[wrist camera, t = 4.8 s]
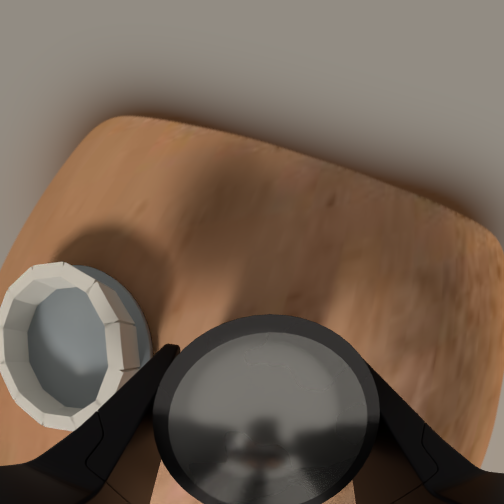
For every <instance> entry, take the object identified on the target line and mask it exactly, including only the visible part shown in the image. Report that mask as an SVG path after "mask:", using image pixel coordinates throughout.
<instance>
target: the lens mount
mask: <svg viewBox="0 0 504 504" xmlns="http://www.w3.org/2000/svg"><path fill="white" fill-rule="evenodd" d="M8 289H9V291H8V290H7V292H6V294H5V297H4V300H3V302H2V305H1V308H0V372H1V374H2V377H3V379H4V381H5V383H6V386H7V388H8V390H9V392H10V394H11V396H12V398H13V400H15V403H17V404H18V405H19V406H20V407H21V408H22V409H23V410H24V411H25V412H27V413H28V414H29V415H30V416H31V417H32V418H33V419H35V420H36V421H37V422H38V423H39V424H41V425H44V427H49V428H55V429H61V430H68V431H75V430H76V429H77V428H78V427H79V426H81V425H82V424H83V423H84V422H85V421H86V420H87V419H88V418H89V417H91V416H92V415H93V414H94V413H95V412H96V411H98V409H99V408H100V407H101V406H102V405H103V404H104V403H105V402H106V401H107V400H108V399H109V398H110V397H112V396H113V395H114V394H115V393H116V392H117V391H118V390H119V389H120V388H121V387H122V386H123V385H124V384H125V383H126V382H127V381H128V380H129V379H130V378H131V377H132V376H133V375H134V374H135V373H136V372H137V371H139V370H140V369H141V368H142V367H143V366H144V365H145V364H146V363H147V362H148V361H149V360H150V359H151V358H152V357H153V346H152V340H151V334H150V331H149V327H148V324H147V321H146V319H145V316H144V314H143V312H142V310H141V308H140V306H139V305H138V303H137V301H136V300H135V299H134V297H133V296H132V295H131V293H130V292H129V291H128V290H127V289H126V288H125V287H124V286H123V285H122V284H120V283H119V282H118V281H117V280H115V279H114V278H112V277H110V276H109V275H107V274H106V273H104V272H102V271H100V270H97V269H95V268H92V267H88V266H81V265H69V264H68V263H66V262H56V263H48V264H41V265H34V266H33V267H30V268H29V269H28V270H27V271H26V272H25V273H24V274H23V275H22V276H20V277H19V278H18V279H17V280H16V281H15V282H14V283H13V284H12V285H11V286H10V287H9V288H8Z"/></svg>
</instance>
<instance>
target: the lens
mask: <svg viewBox="0 0 504 504" xmlns="http://www.w3.org/2000/svg"><path fill="white" fill-rule="evenodd" d="M379 418H380V408H379V398H378V392H377V388H376V385H375V382H374V379H373V376H372V374H371V372H370V370H369V368H368V366H367V365H366V363H365V362H364V360H363V359H362V357H361V356H360V354H359V353H358V352H357V351H356V350H355V349H354V348H353V347H352V346H351V345H350V344H349V343H348V342H347V341H346V340H344V339H343V338H342V337H341V336H339V335H338V334H336V333H335V332H333V331H332V330H330V329H328V328H326V327H324V326H322V325H320V324H318V323H315V322H312V321H309V320H306V319H303V318H299V317H293V316H287V315H273V314H268V315H254V316H249V317H244V318H239V319H236V320H233V321H230V322H226V323H223V324H221V325H219V326H217V327H215V328H213V329H211V330H209V331H207V332H206V333H204V334H202V335H201V336H199V337H198V338H196V339H195V340H194V341H193V342H191V343H190V344H189V345H188V346H187V347H185V348H184V349H183V350H182V351H181V353H180V354H179V355H178V356H177V357H176V358H175V359H174V361H173V362H172V363H171V365H170V366H169V368H168V369H167V371H166V372H165V374H164V376H163V378H162V380H161V382H160V384H159V387H158V390H157V393H156V396H155V401H154V407H153V432H154V439H155V443H156V446H157V450H158V452H159V455H160V457H161V459H162V461H163V463H164V465H165V467H166V468H167V470H168V471H169V473H170V474H171V476H172V477H173V478H174V479H175V480H176V482H177V483H178V484H179V485H180V486H181V487H182V488H183V489H184V490H186V491H187V492H188V493H189V494H190V495H191V496H193V497H194V498H196V499H197V500H199V501H200V502H202V503H204V504H322V503H324V502H325V501H327V500H328V499H330V498H331V497H333V496H335V495H336V494H337V493H338V492H340V491H341V490H342V489H343V488H344V487H346V486H347V485H348V484H349V483H350V482H351V480H352V479H353V478H354V477H355V476H356V475H357V474H358V472H359V471H360V470H361V468H362V467H363V465H364V464H365V462H366V460H367V458H368V457H369V455H370V453H371V450H372V448H373V445H374V443H375V440H376V436H377V432H378V426H379Z"/></svg>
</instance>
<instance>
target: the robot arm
mask: <svg viewBox="0 0 504 504" xmlns="http://www.w3.org/2000/svg"><path fill="white" fill-rule="evenodd" d="M179 354H180V347H179V346H178V345H174V344H166V345H164V346H163V347H162V348H161V349H160V350H159V351H158V352H157V353H156V354H155V355H154V356H153V357H152V358H151V359H150V360H149V361H148V362H147V363H146V364H145V365H144V366H143V367H142V368H141V369H140V370H139V371H137V372H136V373H135V374H134V375H133V376H132V377H131V378H130V379H129V380H128V381H127V382H126V383H125V384H124V385H123V386H122V387H121V388H120V389H119V390H118V391H117V392H116V393H115V394H114V395H113V396H112V397H110V398H109V399H108V400H107V401H106V402H105V403H104V404H103V405H102V406H101V407H100V408H99V409H98V411H96V412H95V413H94V414H93V415H92V416H91V417H89V418H88V419H87V420H86V421H85V422H84V423H83V424H82V425H81V426H79V427H78V428H77V429H76V430H75V431H73V432H72V433H71V434H69V435H68V436H67V437H66V438H64V439H63V440H61V441H60V442H59V443H57V444H56V445H55V446H53V447H52V448H50V449H49V450H48V451H46V452H45V453H43V454H42V455H40V456H39V457H37V458H36V459H34V460H32V461H29V462H26V463H22V464H16V465H7V466H0V504H150V500H151V496H152V492H153V488H154V485H155V481H156V477H157V473H158V469H159V466H160V462H161V457H160V455H159V452H158V450H157V446H156V443H155V439H154V432H153V407H154V401H155V396H156V393H157V390H158V387H159V384H160V382H161V380H162V378H163V376H164V374H165V372H166V371H167V369H168V368H169V366H170V365H171V363H172V362H173V361H174V359H175V358H176V357H177V356H178V355H179ZM362 359H363V358H362ZM363 360H364V359H363ZM364 362H365V363H366V365H367V366H368V368H369V370H370V372H371V374H372V376H373V379H374V382H375V385H376V388H377V392H378V398H379V408H380V418H379V426H378V432H377V436H376V440H375V443H374V445H373V448H372V450H371V453H370V455H369V457H368V458H367V460H366V462H365V464H364V465H363V467H362V468H361V470H360V471H359V472H358V474H357V475H356V476H355V477H354V478H353V486H354V493H355V500H356V504H504V473H494V472H488V471H484V470H482V469H479V468H478V467H476V466H475V465H473V464H472V463H471V462H469V461H468V460H467V459H466V458H465V457H463V456H462V455H461V454H460V453H458V452H457V451H456V450H455V449H453V448H452V447H451V446H450V445H449V444H448V443H446V442H445V441H444V440H443V439H442V438H441V437H440V436H439V435H438V434H437V433H436V432H435V431H434V430H433V429H432V428H431V427H430V426H429V425H428V424H427V423H425V422H424V420H423V419H422V418H421V417H420V416H419V415H418V414H417V413H416V412H415V411H414V410H413V409H412V408H411V407H410V406H409V405H408V404H407V403H406V402H405V401H404V400H403V399H402V398H401V397H400V396H399V395H398V394H397V393H396V392H395V391H394V390H393V389H392V388H391V387H390V386H389V385H388V384H387V383H386V382H385V381H384V380H383V379H382V377H381V376H380V375H379V374H378V373H377V372H376V371H375V370H374V369H373V368H372V367H371V366H370V365H369V364H368V363H367V362H366V361H365V360H364Z"/></svg>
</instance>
